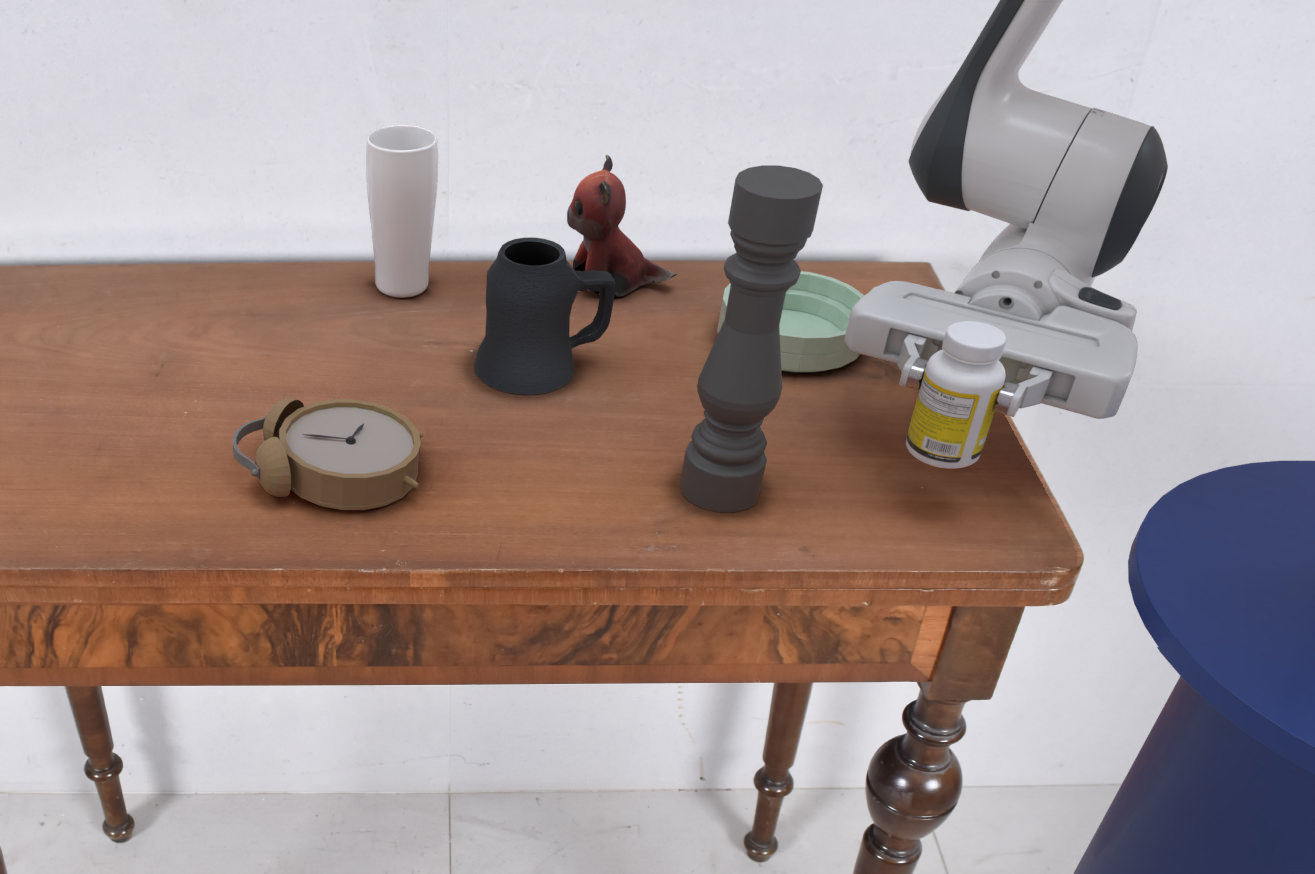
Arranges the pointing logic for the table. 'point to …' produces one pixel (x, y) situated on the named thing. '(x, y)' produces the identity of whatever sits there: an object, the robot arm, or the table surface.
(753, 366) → the candle holder
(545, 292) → the mug
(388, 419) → the alarm clock
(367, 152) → the drinking glass
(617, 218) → the stuffed fox
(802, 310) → the bowl
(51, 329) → the table surface
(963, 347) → the supplement bottle
